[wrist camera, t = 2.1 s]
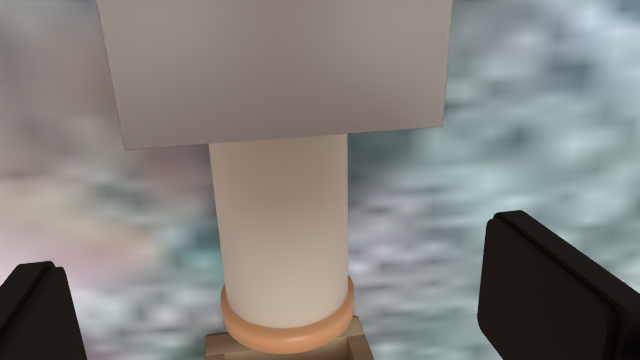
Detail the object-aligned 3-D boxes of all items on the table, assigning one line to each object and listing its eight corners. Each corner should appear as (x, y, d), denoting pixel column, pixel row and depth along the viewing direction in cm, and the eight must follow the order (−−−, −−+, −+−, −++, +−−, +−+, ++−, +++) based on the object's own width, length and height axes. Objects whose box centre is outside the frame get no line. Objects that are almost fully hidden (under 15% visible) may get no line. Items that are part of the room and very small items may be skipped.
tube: (168, -188, 13) (138, -268, 9) (334, -183, 14) (378, -257, 10) (224, 278, 19) (221, 363, 15) (339, 265, 19) (368, 343, 15)
